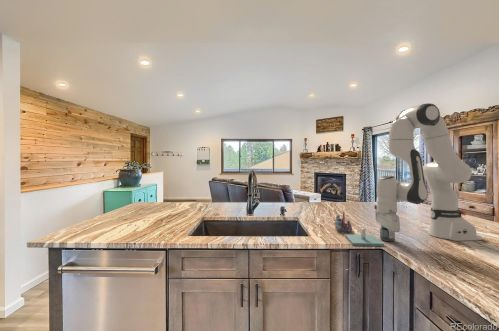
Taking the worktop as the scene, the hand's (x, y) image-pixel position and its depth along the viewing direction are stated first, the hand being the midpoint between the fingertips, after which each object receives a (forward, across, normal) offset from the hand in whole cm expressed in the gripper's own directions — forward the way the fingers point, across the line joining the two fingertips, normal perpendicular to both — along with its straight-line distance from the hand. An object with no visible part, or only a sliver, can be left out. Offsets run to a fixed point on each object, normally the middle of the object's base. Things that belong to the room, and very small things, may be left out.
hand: (387, 235), depth 130 cm
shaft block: (+2, -3, +12) cm, 13 cm away
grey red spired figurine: (+2, +17, +17) cm, 24 cm away
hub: (+2, 0, 0) cm, 2 cm away
